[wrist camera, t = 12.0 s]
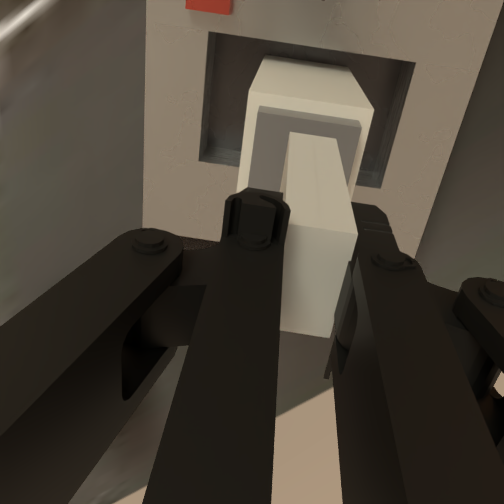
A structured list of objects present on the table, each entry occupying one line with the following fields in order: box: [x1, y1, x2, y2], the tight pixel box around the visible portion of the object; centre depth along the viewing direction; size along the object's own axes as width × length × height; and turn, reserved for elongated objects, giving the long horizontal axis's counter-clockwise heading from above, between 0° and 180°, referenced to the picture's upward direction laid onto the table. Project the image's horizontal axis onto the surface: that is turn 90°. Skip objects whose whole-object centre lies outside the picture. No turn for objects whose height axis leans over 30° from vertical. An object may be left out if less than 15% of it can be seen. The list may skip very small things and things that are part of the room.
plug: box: [236, 55, 374, 201], centre depth 22 cm, size 4×4×11 cm
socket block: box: [143, 0, 504, 259], centre depth 25 cm, size 16×16×4 cm
